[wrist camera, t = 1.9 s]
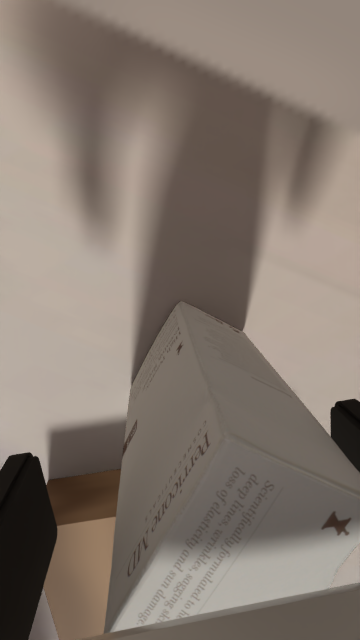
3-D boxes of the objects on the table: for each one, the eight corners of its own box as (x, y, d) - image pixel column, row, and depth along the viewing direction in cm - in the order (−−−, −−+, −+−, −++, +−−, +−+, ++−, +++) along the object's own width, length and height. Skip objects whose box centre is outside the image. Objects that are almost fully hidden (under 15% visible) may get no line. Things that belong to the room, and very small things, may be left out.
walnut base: (278, 439, 21) (305, 486, 17) (287, 608, 25) (312, 677, 21) (50, 474, 21) (27, 530, 17) (94, 641, 24) (82, 718, 20)
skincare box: (176, 296, 18) (217, 418, 6) (249, 333, 19) (404, 500, 7) (126, 393, 19) (81, 647, 8) (196, 424, 20) (255, 695, 8)
